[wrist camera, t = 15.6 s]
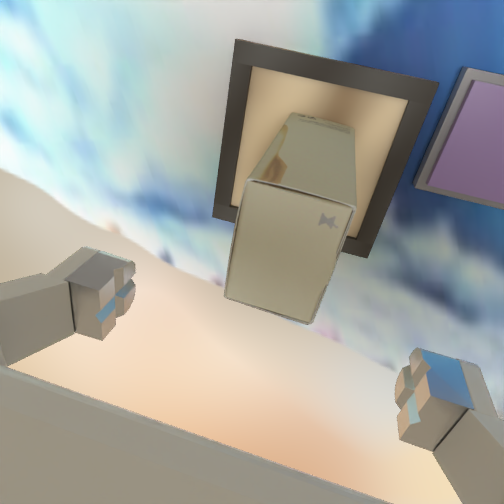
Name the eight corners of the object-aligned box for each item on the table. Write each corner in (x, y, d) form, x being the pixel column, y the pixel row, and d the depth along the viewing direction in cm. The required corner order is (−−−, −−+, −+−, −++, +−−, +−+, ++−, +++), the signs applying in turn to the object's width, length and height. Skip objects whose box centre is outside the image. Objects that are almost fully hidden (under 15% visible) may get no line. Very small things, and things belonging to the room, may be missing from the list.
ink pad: (594, 93, 20) (611, 97, 19) (521, 209, 24) (531, 219, 22) (463, 66, 21) (470, 68, 19) (412, 182, 24) (415, 190, 23)
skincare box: (290, 109, 24) (244, 166, 13) (357, 126, 23) (363, 199, 13) (268, 200, 27) (218, 301, 17) (326, 216, 27) (311, 330, 16)
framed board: (436, 81, 21) (439, 83, 21) (366, 253, 28) (367, 258, 27) (238, 39, 22) (235, 39, 22) (215, 213, 29) (212, 217, 28)
